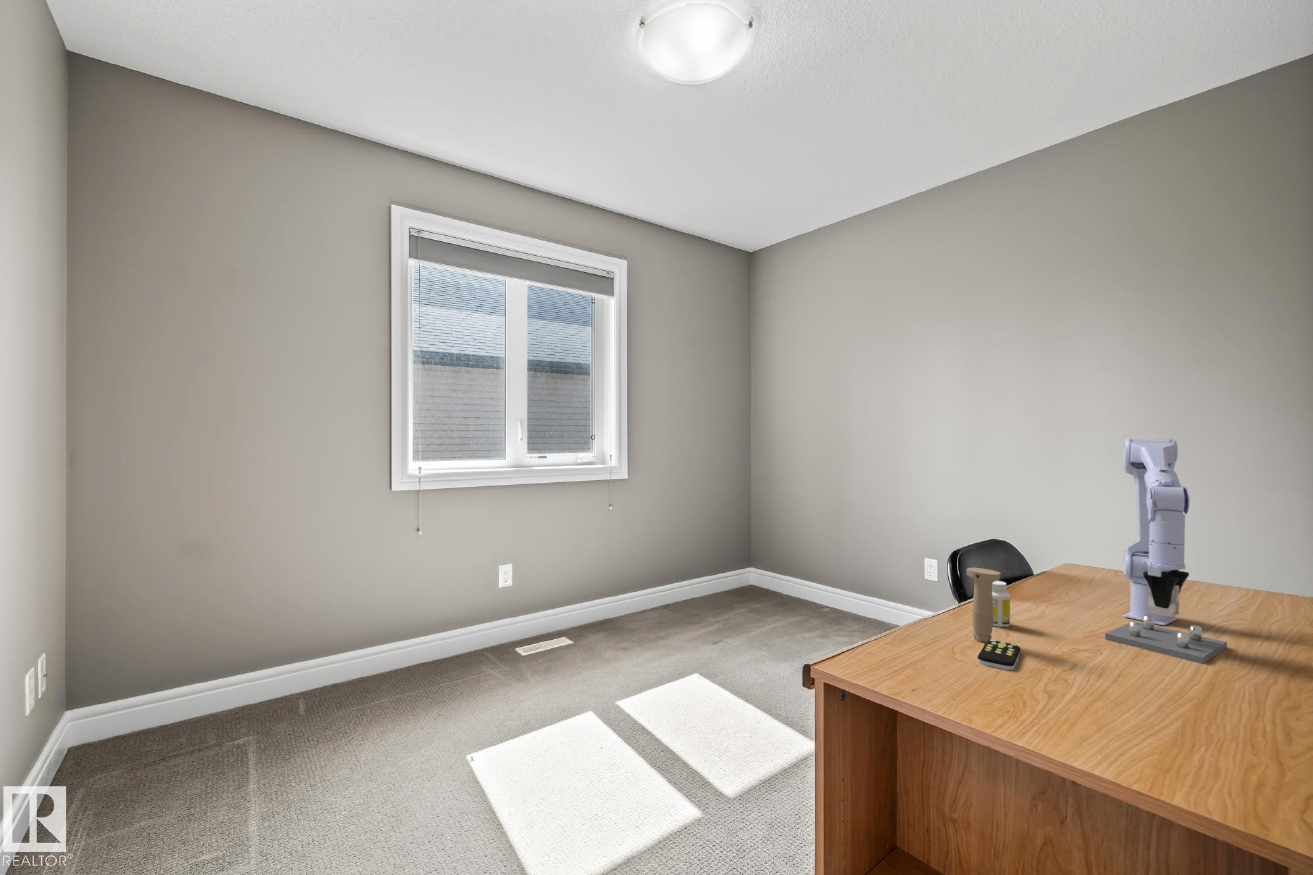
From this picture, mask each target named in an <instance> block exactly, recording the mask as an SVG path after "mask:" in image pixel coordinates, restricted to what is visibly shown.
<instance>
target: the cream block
mask: <svg viewBox="0 0 1313 875" xmlns="http://www.w3.org/2000/svg"><path fill="white" fill-rule="evenodd" d="M1179 609H1180V594H1179V586H1176V585H1175V586H1174V589H1173V592H1172V596H1171V602H1170V605H1169V607H1168V608H1162V607H1157V606H1155V604H1154V601H1153V597H1152V593H1151V589H1150V587H1149V600H1148V612H1150V613H1155V614H1160V615H1165V616H1169V617H1173V616H1175V617H1176V616H1177V615H1179V613H1180V612H1179Z"/></svg>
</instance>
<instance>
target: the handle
mask: <svg viewBox="0 0 1313 875" xmlns="http://www.w3.org/2000/svg"><path fill="white" fill-rule="evenodd" d="M966 576H968V577H970V578H971V579H972V580H973V582H974V583H973V585H974V588H973V598H972V599H973V600H972V609H971V610H972V613H971V617H972V619H971V620H972V630H973V638H974V640H977V641H978V642H983V643H986V642H987V641H988V640H992V636H993V635H992V633H993V628H994V626H993V600H992V583H993V582H995V581H1000V580H1001V572H999V571H997V570H992V569H989V568H981V567H968V568H967V567H966Z"/></svg>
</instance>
